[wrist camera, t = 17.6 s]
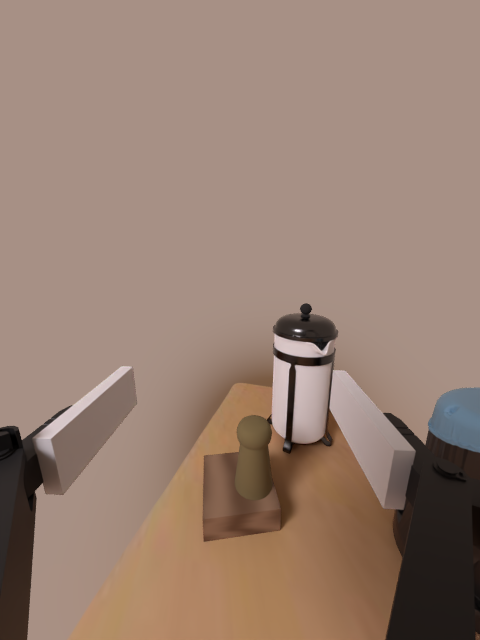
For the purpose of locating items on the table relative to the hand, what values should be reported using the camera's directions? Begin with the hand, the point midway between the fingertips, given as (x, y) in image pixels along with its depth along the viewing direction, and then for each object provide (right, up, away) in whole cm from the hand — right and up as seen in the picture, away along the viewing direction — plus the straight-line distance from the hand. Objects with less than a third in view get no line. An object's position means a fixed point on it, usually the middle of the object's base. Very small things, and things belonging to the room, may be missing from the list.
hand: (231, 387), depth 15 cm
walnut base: (0, -25, +23) cm, 34 cm away
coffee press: (+13, -21, +40) cm, 47 cm away
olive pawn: (+3, -22, +22) cm, 31 cm away
